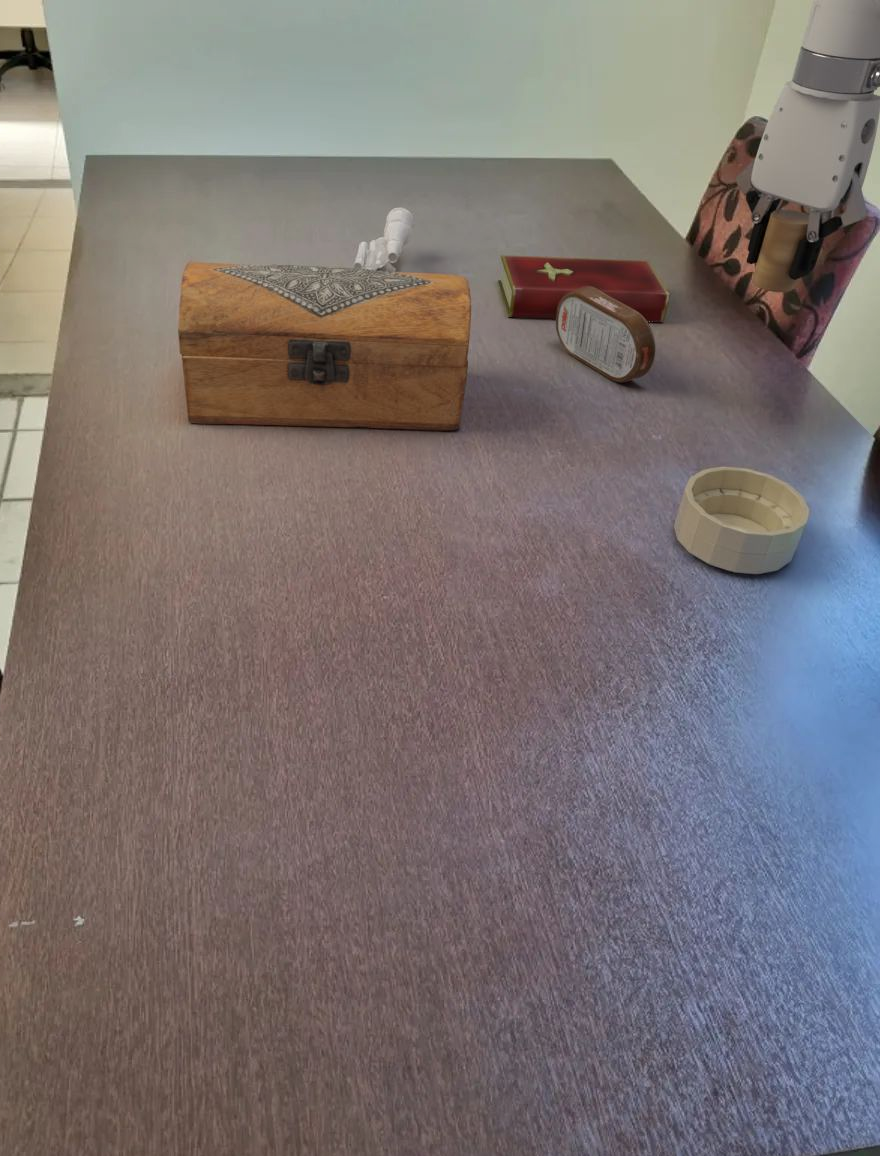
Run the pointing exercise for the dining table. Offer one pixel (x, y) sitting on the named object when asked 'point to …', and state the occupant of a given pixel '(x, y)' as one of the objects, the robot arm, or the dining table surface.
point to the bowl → (741, 519)
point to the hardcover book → (579, 284)
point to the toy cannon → (387, 242)
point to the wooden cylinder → (780, 250)
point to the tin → (605, 334)
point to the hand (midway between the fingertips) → (777, 266)
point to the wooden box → (323, 346)
